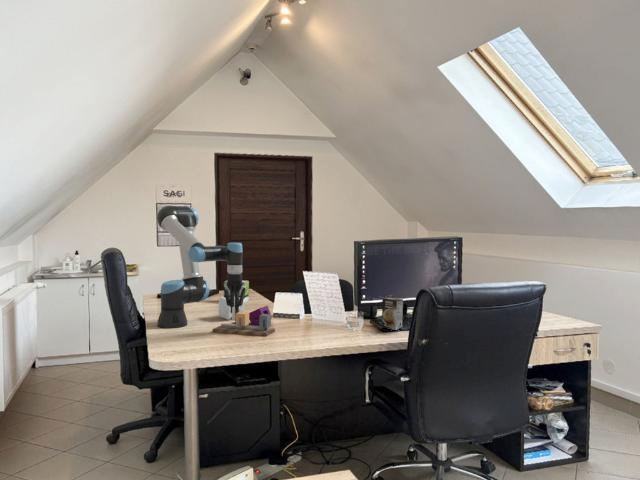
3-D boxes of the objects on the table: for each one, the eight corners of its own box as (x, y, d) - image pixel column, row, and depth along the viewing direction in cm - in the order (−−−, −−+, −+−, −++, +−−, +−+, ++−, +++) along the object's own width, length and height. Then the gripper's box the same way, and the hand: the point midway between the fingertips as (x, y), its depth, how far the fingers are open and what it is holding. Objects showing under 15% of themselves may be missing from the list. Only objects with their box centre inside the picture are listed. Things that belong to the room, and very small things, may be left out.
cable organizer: (217, 316, 282) (217, 296, 281) (234, 314, 288) (234, 295, 287) (228, 321, 269) (228, 300, 269) (245, 319, 276) (246, 298, 275)
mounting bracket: (237, 336, 260) (265, 323, 254) (231, 321, 261) (259, 308, 255) (246, 332, 269) (273, 320, 263) (240, 317, 270) (267, 305, 264)
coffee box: (381, 328, 254) (381, 298, 254) (388, 326, 259) (388, 296, 258) (395, 331, 248) (396, 300, 248) (402, 329, 253) (403, 298, 252)
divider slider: (234, 328, 241) (234, 313, 241) (240, 325, 247) (240, 311, 247) (243, 329, 240) (243, 314, 239) (249, 326, 246) (249, 312, 246)
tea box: (223, 302, 331) (223, 281, 330) (228, 300, 341) (228, 279, 340) (244, 303, 328) (244, 281, 328) (249, 301, 338) (249, 280, 338)
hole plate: (212, 332, 241) (212, 328, 241) (222, 327, 252) (222, 324, 252) (266, 336, 234) (266, 333, 234) (274, 331, 244) (275, 328, 244)
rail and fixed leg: (218, 328, 243) (218, 313, 243) (224, 325, 250) (224, 311, 249) (265, 331, 236) (266, 316, 236) (270, 329, 243) (270, 314, 242)
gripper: (219, 273, 242) (219, 320, 243) (243, 274, 239) (243, 322, 240) (226, 272, 250) (226, 317, 250) (249, 273, 246) (249, 319, 247)
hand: (234, 319), depth 245 cm, fingers closed
